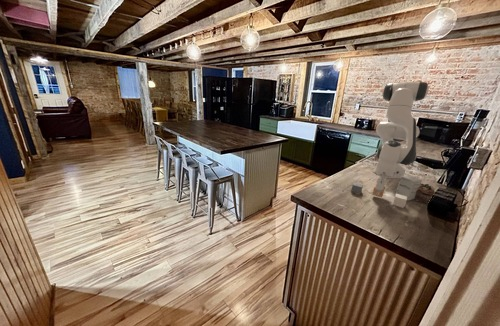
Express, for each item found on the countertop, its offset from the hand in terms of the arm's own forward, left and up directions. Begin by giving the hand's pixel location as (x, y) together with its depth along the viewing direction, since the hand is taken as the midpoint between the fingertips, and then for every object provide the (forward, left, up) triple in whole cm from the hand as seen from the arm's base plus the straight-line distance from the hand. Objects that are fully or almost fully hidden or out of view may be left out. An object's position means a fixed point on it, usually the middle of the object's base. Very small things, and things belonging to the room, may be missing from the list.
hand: (378, 192), depth 117 cm
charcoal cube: (+9, -6, -4) cm, 12 cm away
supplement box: (-18, -3, -4) cm, 19 cm away
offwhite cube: (-9, +6, -4) cm, 11 cm away
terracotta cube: (0, 0, -2) cm, 2 cm away
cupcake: (-26, -1, -4) cm, 27 cm away
